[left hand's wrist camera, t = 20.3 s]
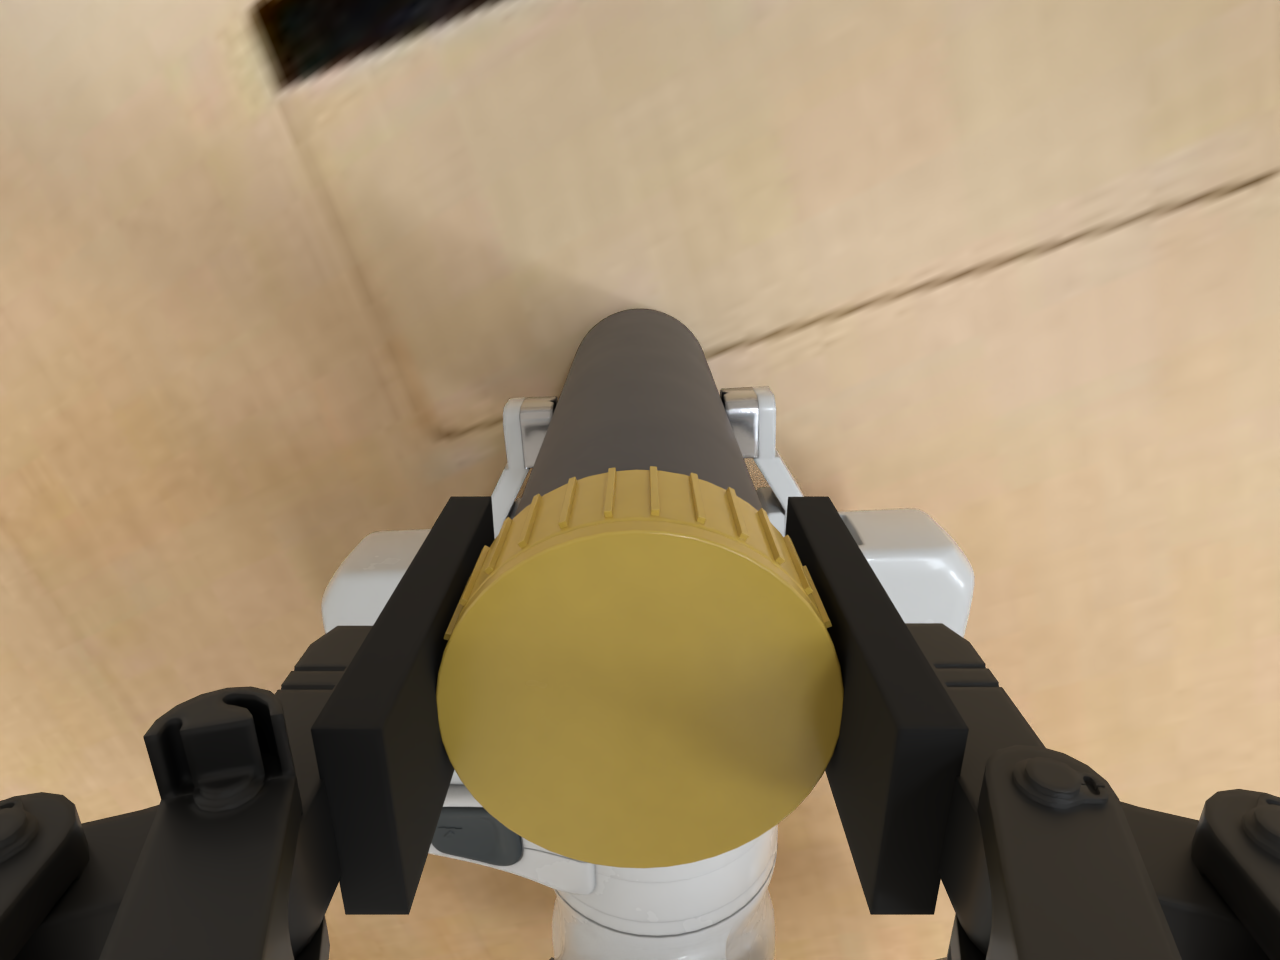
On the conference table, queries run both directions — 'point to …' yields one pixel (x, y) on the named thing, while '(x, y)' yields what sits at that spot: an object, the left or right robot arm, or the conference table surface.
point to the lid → (639, 673)
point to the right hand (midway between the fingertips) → (637, 396)
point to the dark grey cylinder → (639, 410)
